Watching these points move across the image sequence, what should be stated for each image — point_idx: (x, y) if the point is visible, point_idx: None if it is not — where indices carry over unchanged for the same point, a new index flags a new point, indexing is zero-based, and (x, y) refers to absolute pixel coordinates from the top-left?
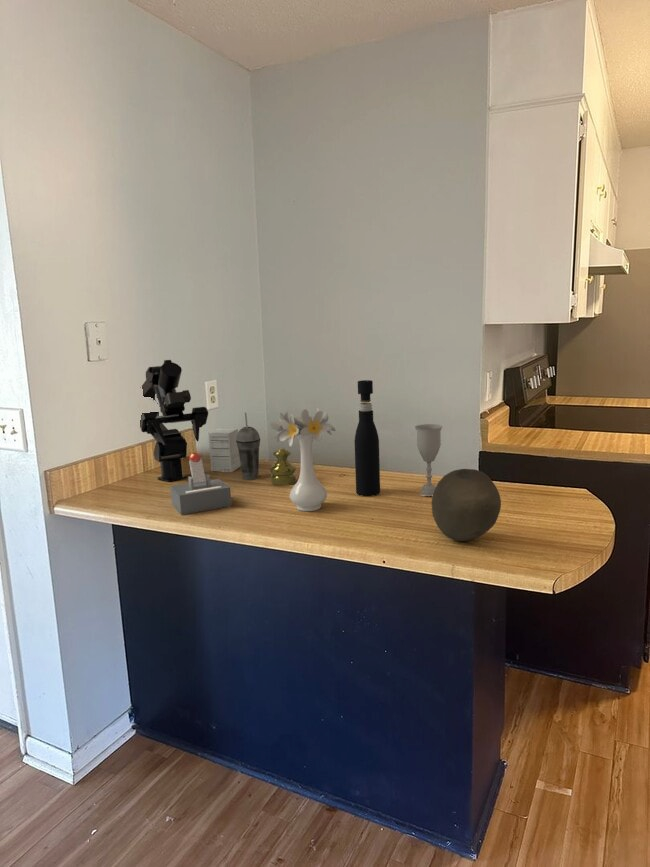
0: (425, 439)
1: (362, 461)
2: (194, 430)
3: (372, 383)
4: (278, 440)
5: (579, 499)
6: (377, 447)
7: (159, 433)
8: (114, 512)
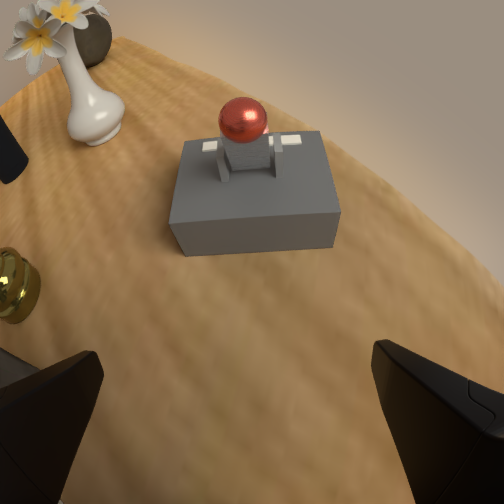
0: None
1: (3, 120)
2: (45, 452)
3: None
4: (63, 53)
5: None
6: None
7: (462, 380)
8: (468, 256)
